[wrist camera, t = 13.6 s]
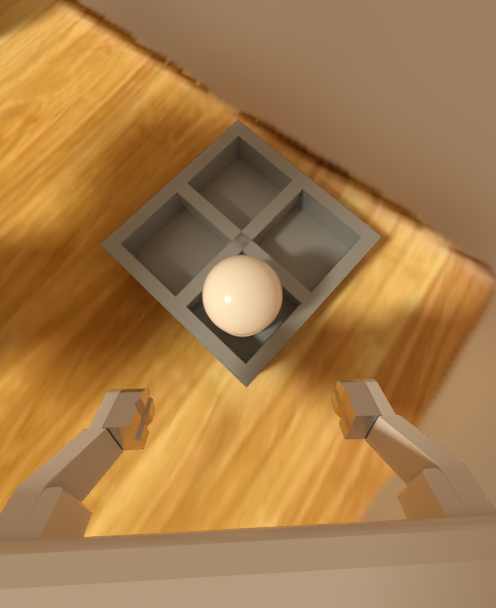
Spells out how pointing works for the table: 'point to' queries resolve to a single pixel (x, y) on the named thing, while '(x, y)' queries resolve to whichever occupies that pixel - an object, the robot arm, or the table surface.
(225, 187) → the grey compartment tray
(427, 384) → the table surface
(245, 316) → the cream rounded piece
